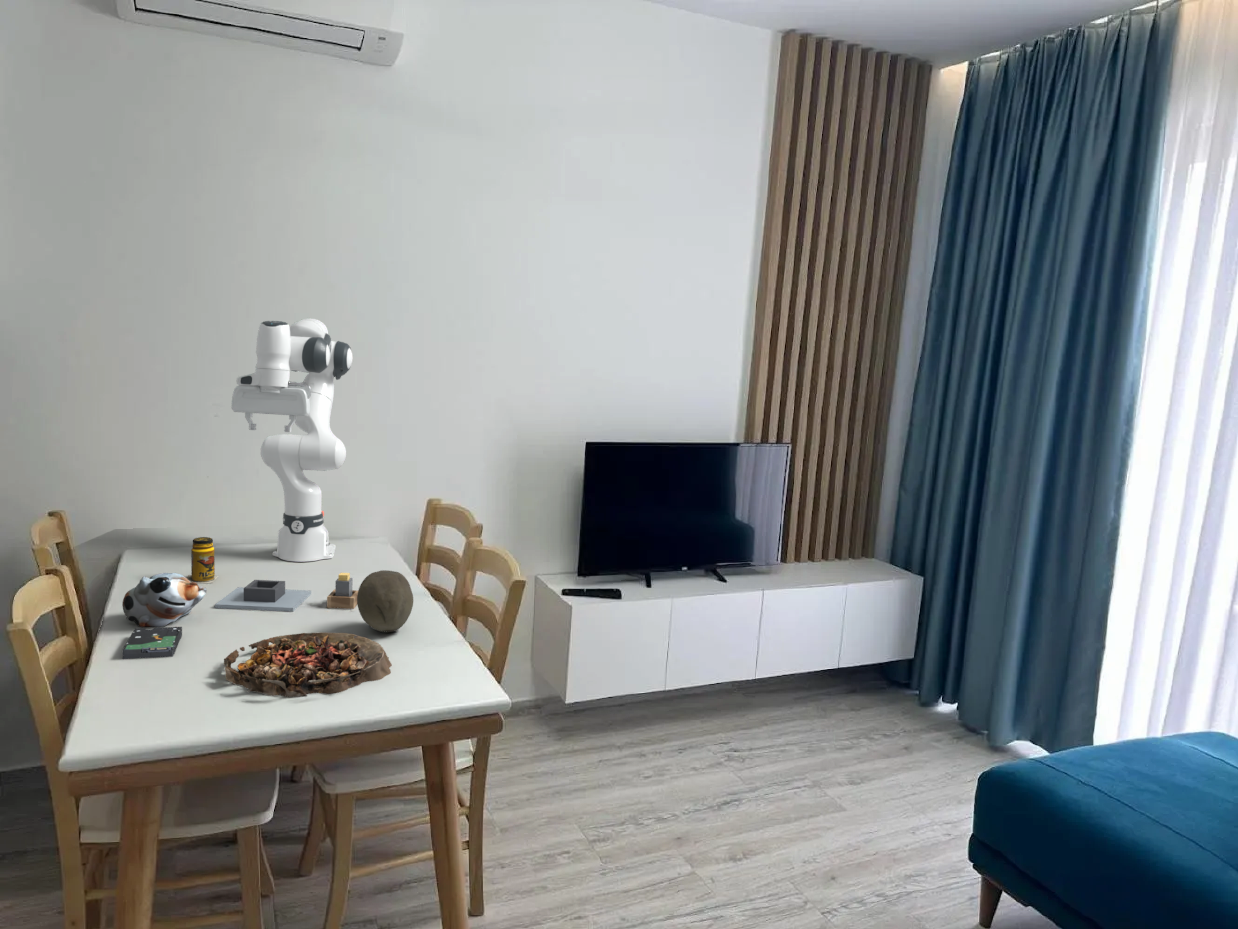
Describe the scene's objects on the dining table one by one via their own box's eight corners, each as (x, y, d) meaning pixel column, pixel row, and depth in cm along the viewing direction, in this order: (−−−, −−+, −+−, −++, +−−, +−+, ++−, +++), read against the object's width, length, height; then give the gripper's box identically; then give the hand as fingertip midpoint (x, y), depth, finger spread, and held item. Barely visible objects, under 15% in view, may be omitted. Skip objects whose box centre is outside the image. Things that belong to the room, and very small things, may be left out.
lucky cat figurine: (191, 606, 241) (211, 560, 236) (190, 642, 231) (211, 594, 225) (121, 594, 232) (140, 546, 227) (116, 631, 222) (136, 581, 217)
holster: (334, 600, 254) (334, 589, 254) (360, 601, 254) (360, 590, 254) (327, 607, 247) (327, 596, 247) (353, 609, 247) (353, 598, 247)
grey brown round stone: (425, 629, 235) (427, 571, 232) (382, 643, 223) (383, 583, 221) (386, 617, 242) (387, 561, 240) (343, 630, 231) (343, 571, 228)
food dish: (215, 711, 184) (213, 673, 183) (233, 654, 215) (232, 622, 214) (397, 695, 194) (397, 659, 193) (389, 643, 225) (389, 612, 224)
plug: (338, 602, 253) (339, 571, 251) (352, 602, 253) (352, 572, 251) (335, 606, 249) (335, 575, 248) (348, 606, 249) (349, 576, 248)
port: (238, 590, 257) (238, 574, 257) (311, 594, 258) (311, 578, 258) (215, 608, 242) (215, 591, 241) (293, 611, 242) (293, 594, 242)
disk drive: (133, 639, 218) (122, 661, 204) (133, 628, 217) (121, 649, 204) (182, 637, 221) (174, 658, 207) (182, 626, 221) (174, 646, 207)
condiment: (211, 583, 263) (211, 542, 261) (180, 582, 262) (179, 541, 260) (219, 576, 270) (219, 536, 268) (188, 575, 269) (188, 535, 267)
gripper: (314, 383, 258) (312, 433, 258) (238, 378, 256) (236, 428, 257) (308, 382, 251) (306, 433, 252) (230, 377, 250) (228, 429, 250)
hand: (270, 431), depth 254 cm, fingers open, 8 cm apart
